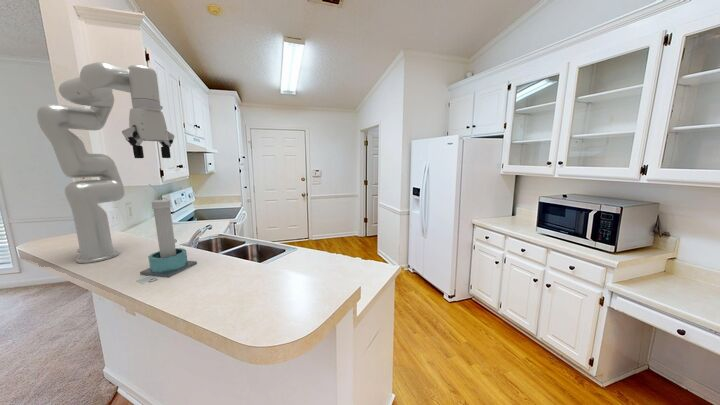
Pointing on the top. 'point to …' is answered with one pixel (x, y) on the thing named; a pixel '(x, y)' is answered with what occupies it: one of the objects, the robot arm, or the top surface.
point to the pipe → (164, 227)
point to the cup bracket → (168, 264)
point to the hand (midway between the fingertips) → (153, 158)
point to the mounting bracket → (147, 279)
